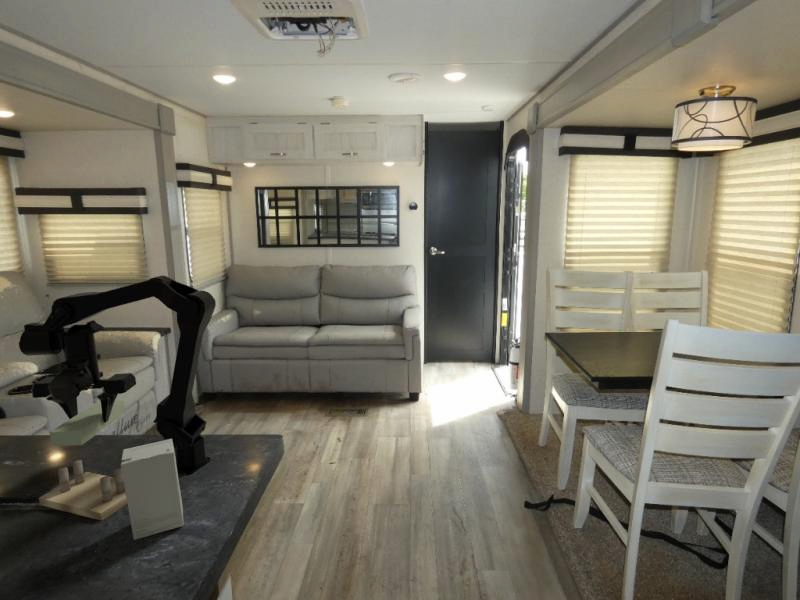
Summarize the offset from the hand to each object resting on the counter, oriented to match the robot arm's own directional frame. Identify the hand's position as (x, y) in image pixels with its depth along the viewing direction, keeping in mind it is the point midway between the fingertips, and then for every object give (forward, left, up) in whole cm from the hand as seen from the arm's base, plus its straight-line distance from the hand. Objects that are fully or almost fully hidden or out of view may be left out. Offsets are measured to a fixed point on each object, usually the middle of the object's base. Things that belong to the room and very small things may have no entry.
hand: (90, 422), depth 104 cm
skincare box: (-29, +12, -11) cm, 33 cm away
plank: (0, 0, -1) cm, 1 cm away
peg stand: (-10, +9, -11) cm, 17 cm away
